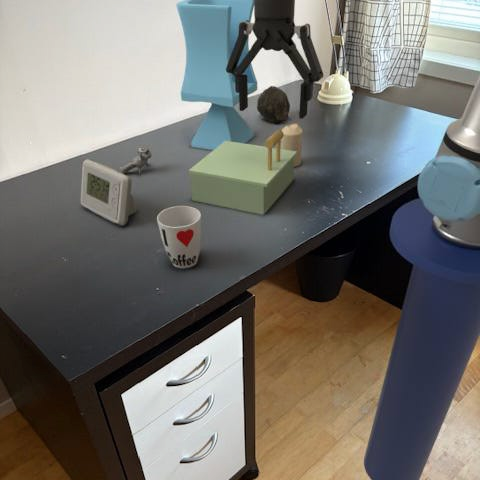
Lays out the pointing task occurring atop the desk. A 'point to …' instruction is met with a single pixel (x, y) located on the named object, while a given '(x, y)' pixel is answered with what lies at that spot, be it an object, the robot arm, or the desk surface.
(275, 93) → the rock
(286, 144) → the candle
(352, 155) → the desk surface
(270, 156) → the lid
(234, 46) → the robot arm
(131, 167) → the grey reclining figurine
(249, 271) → the desk surface
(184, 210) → the cup
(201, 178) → the chest
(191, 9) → the planter
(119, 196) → the digital clock
